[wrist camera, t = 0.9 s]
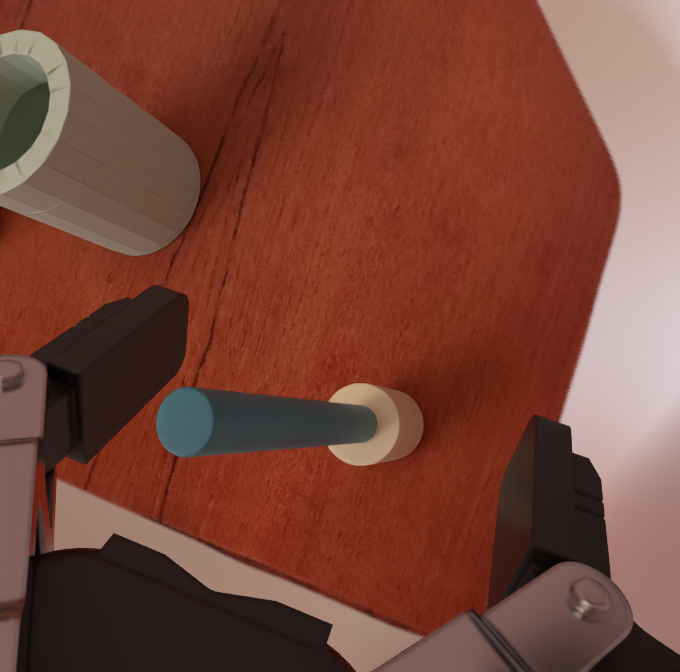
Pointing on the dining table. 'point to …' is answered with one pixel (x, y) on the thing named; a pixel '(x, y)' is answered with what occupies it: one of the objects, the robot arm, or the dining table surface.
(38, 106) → the faceted pencil holder
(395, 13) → the dining table surface
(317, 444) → the teal rod on stand
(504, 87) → the dining table surface
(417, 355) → the dining table surface
